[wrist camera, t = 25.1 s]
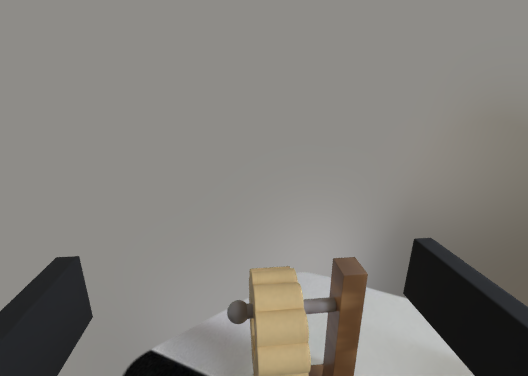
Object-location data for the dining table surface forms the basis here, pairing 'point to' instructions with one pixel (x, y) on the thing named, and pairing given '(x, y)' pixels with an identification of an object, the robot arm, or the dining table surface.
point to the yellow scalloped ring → (278, 323)
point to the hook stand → (331, 317)
